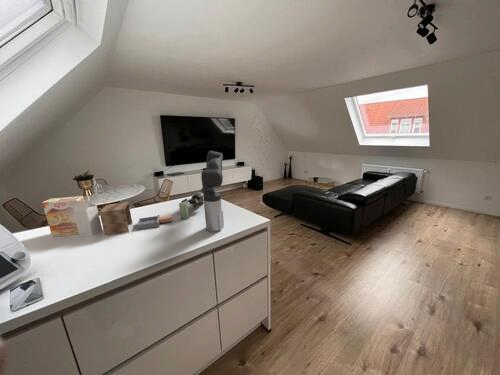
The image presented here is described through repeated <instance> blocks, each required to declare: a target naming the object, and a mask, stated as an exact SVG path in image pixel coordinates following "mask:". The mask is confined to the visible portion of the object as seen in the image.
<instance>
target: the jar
mask: <svg viewBox="0 0 500 375" xmlns="http://www.w3.org/2000/svg"><path fill="white" fill-rule="evenodd" d="M188 203H189V202H188ZM188 203H187V202H182V201H180V202H179V203H178V206H179V216H180V220H181V221H187V220H189V218H190V217H189V215H190V214H189V205H188Z"/></svg>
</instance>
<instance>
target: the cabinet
mask: <svg viewBox="0 0 500 375" xmlns="http://www.w3.org/2000/svg"><path fill="white" fill-rule="evenodd" d="M99 218H100V222H101V226H102V231H103V234H104V236H105V237H107V236H113V235H121V234H126V233H129V232H130V230H129V225H133V219H132V213H131V208H130V203H129V201H127V202H118V203H110V204H106V205H105V206H104V207H103V208H102V209H101V210H100V211H99Z"/></svg>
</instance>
